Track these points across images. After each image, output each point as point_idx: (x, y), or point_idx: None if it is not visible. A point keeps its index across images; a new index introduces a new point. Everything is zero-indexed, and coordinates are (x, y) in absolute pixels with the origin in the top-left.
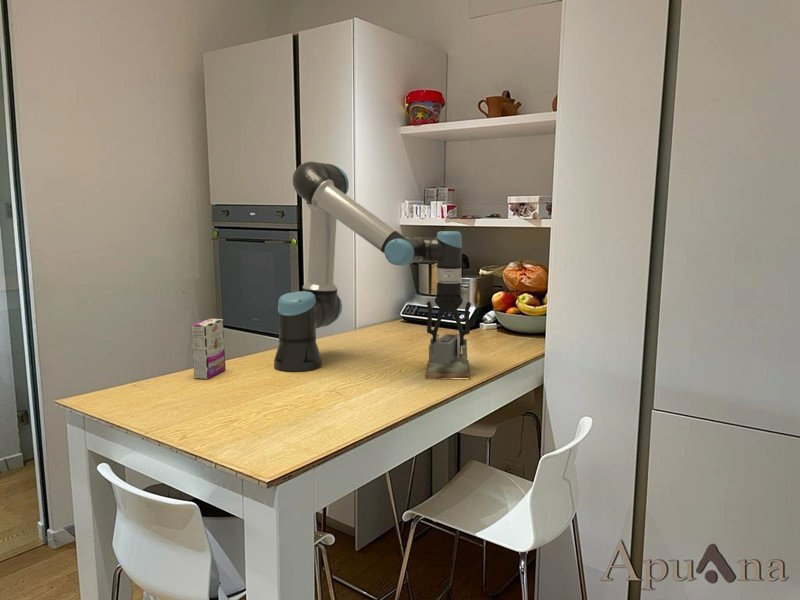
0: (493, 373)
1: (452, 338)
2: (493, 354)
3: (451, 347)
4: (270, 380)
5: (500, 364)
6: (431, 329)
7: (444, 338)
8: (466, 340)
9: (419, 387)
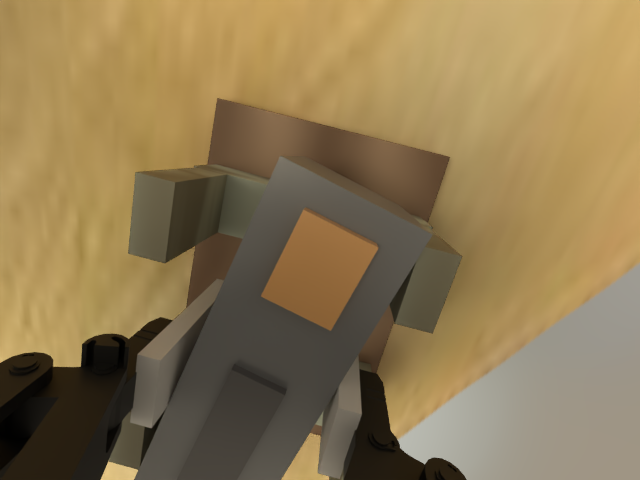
0: (494, 360)
1: (289, 398)
2: None
3: None
4: None
5: (622, 199)
6: (38, 409)
7: (210, 428)
8: (434, 325)
9: None
